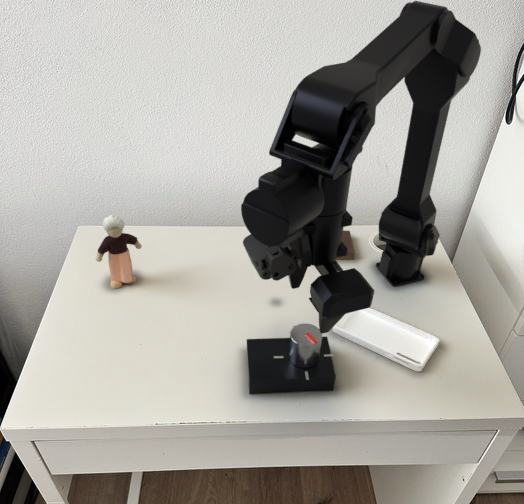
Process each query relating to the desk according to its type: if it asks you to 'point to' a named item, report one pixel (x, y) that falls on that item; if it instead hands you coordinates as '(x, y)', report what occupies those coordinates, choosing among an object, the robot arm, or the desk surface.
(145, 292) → the desk surface
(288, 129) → the robot arm
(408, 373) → the desk surface
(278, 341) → the panel
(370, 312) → the phone case
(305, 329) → the hob knob
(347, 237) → the control block
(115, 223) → the grandmother figurine
